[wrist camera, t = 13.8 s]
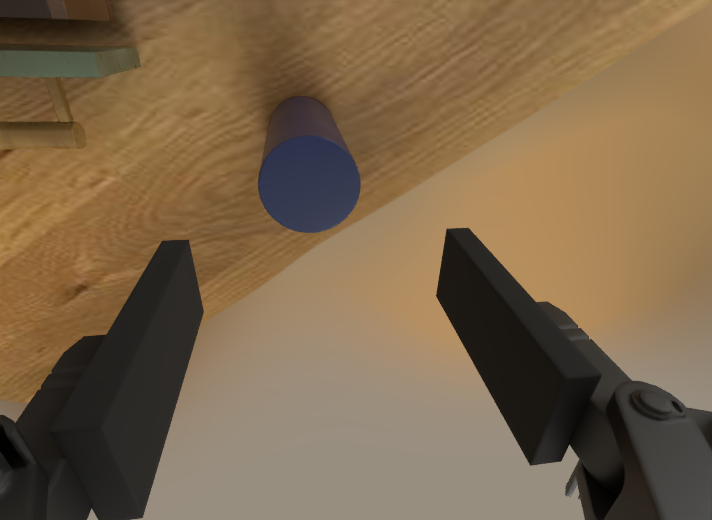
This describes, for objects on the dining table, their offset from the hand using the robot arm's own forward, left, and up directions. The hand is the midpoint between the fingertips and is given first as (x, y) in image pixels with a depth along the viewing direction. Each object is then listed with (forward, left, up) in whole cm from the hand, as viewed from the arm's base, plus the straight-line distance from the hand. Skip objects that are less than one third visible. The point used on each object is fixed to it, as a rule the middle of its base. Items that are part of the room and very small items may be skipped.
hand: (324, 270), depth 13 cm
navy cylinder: (0, 0, -21) cm, 21 cm away
